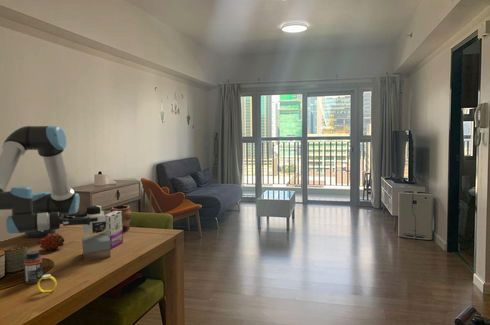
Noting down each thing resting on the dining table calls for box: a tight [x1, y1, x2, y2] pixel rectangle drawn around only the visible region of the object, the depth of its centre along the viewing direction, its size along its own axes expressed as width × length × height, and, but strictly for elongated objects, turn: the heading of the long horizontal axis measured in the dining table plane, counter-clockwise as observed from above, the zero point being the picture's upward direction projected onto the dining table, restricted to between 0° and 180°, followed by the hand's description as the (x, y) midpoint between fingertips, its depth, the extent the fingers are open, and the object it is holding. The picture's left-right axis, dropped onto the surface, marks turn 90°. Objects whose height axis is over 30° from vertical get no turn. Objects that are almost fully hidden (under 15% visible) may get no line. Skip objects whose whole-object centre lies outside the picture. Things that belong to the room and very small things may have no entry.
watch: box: [36, 273, 58, 294], centre depth 128 cm, size 6×3×6 cm, turn 100°
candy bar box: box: [101, 211, 124, 250], centre depth 180 cm, size 11×5×16 cm, turn 168°
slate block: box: [81, 234, 112, 253], centre depth 166 cm, size 11×11×4 cm
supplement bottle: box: [23, 250, 44, 285], centre depth 137 cm, size 6×6×11 cm
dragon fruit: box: [37, 232, 65, 252], centre depth 175 cm, size 8×8×12 cm
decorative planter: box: [109, 204, 132, 232], centre depth 207 cm, size 20×12×14 cm, turn 9°
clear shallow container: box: [82, 249, 111, 262], centre depth 166 cm, size 11×11×4 cm
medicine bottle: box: [82, 205, 106, 236], centre depth 165 cm, size 7×7×12 cm
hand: (104, 215), depth 167 cm, fingers closed on medicine bottle, 10 cm apart
